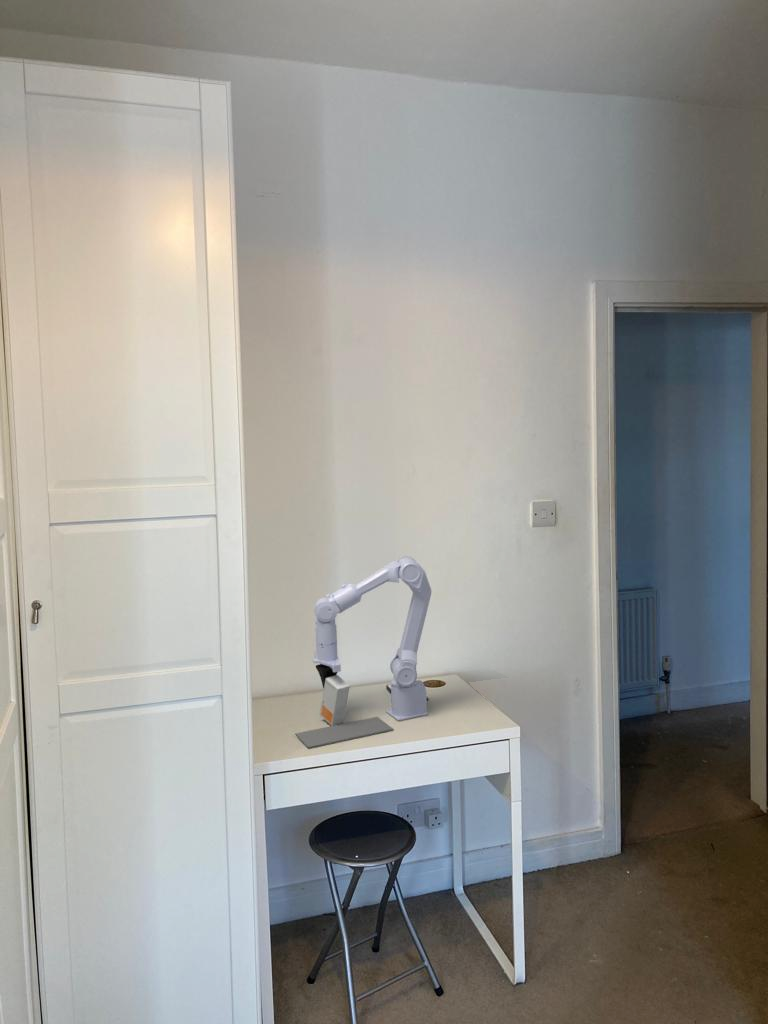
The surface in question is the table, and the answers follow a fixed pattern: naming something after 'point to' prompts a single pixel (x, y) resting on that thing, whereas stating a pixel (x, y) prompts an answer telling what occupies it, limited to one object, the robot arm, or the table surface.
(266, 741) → the table surface
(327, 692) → the skincare box
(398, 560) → the robot arm
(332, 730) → the mat
